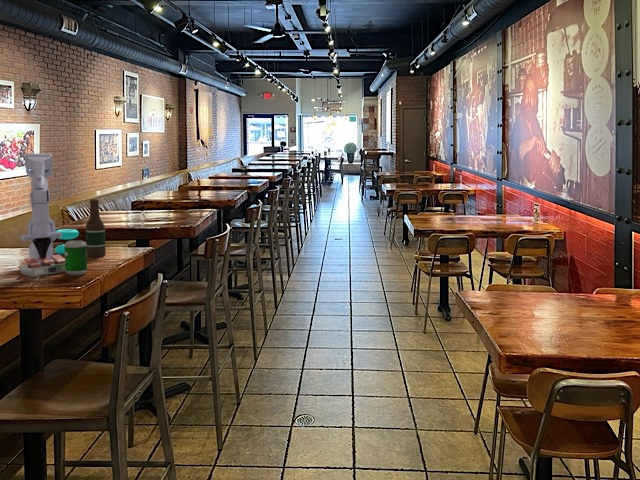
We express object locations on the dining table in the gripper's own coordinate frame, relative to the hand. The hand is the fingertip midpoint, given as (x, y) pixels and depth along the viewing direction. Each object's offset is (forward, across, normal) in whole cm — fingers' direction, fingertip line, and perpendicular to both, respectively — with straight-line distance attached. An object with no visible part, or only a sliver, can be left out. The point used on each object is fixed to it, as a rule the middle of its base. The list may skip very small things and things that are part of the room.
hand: (42, 258), depth 244 cm
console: (+5, 0, -2) cm, 5 cm away
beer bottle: (+5, +32, +17) cm, 36 cm away
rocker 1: (0, -5, -2) cm, 6 cm away
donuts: (+6, +26, +32) cm, 42 cm away
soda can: (+5, +6, -12) cm, 15 cm away
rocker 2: (0, 0, -2) cm, 2 cm away
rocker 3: (0, +5, -2) cm, 6 cm away
